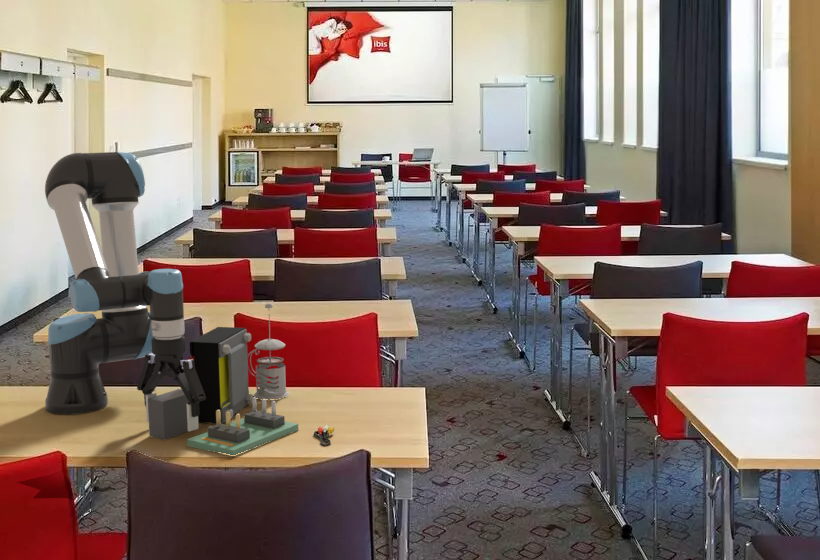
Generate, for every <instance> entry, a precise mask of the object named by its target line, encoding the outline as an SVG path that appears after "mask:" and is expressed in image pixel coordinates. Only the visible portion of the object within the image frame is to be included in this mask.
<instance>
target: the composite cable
mask: <svg viewBox="0 0 820 560" xmlns="http://www.w3.org/2000/svg"><path fill="white" fill-rule="evenodd" d="M335 428H336V427H335V426H330V424H326V425H325V426H324V427H322V426H318V428H317V430H315V431H314V432H313V436H314V437H315V438H317V439H318V440H320V445H321V446H322V447H328V446H329V447H330V446H331V445H332V442H331V440H330V439H329V435H330V434H333V432H334V431H335ZM318 434H319V435H318ZM324 442H325V443H324Z"/></svg>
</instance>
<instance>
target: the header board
mask: <svg viewBox="0 0 820 560" xmlns="http://www.w3.org/2000/svg"><path fill="white" fill-rule="evenodd" d="M270 403H271V404H270V405H271V412H267V401H266V400H265V399H262V400H261V411H260V410H257V408H258V405H257V399H256V397H253V398H252V403H251V405H252V407H251V408H252V411H250V412H248V413H245V414H243V416H244V417H243V418H241V414H240V413H236V414H235V421H233V422H231V421H232V420H231V419H230V412H226V421H225V424H224V423H221V413H220V410H216V424H215V425H211V426H209V427H207V431H206V432H203V433H201V434H198V435H196V436H193V437H190V438H187V439H186V443H187V447H190V448H195V449H199V450H202V449H203V451H207V450H209V451H208V452H211V451H215V452H221V453H226V454H230V455H236V454H238V453H241V452H244V451H246V450H249V449H252V448H254V447H256V446H259V445H261V446H263V445H262V444H264V443H266V442H269V441H271V442H273V441H276V440H278V439H280V438H279V437H281V438H282V436H283V437H285V436H288V435H289V433H290V434H292V432H293V433H294V432H297V431H299V423H295V422H291V421H286V420H285V416H284V415H279V414H277V410H276V409H277V408H276V407H277V404H276V403H277V402H276V400H271V402H270ZM287 434H288V435H287ZM277 438H278V439H277ZM275 439H276V440H275ZM272 440H273V441H272ZM269 443H270V442H269ZM266 444H267V443H266ZM264 445H265V444H264ZM259 447H260V446H259ZM256 448H257V447H256ZM254 449H255V448H254ZM252 450H253V449H252ZM249 451H250V450H249ZM215 452H214V453H215ZM244 453H245V452H244Z"/></svg>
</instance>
